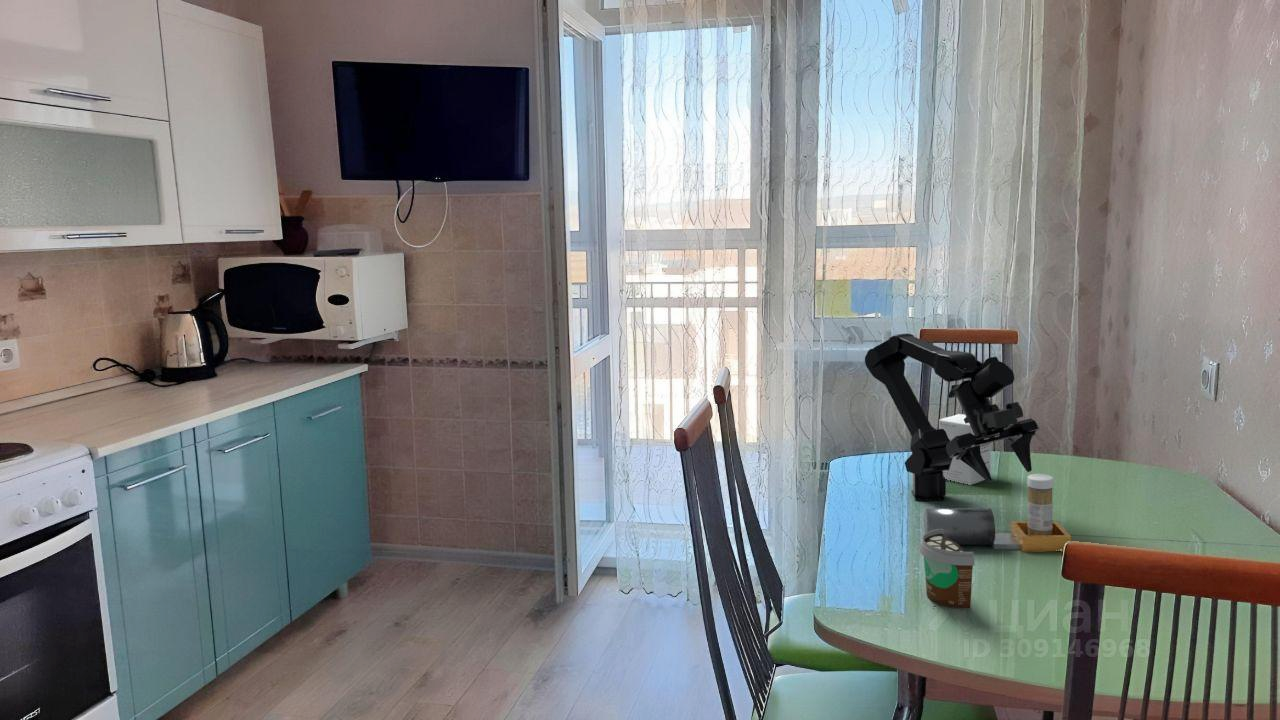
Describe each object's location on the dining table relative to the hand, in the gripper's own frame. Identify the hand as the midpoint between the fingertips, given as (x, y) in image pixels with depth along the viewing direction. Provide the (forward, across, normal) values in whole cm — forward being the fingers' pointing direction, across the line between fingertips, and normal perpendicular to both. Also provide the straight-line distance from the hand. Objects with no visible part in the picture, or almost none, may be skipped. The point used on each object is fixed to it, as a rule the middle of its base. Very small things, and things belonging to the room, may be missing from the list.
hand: (1010, 476), depth 176 cm
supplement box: (-9, +11, +35) cm, 37 cm away
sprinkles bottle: (+14, -2, -2) cm, 15 cm away
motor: (+12, -9, 0) cm, 15 cm away
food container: (+20, -33, -16) cm, 42 cm away
